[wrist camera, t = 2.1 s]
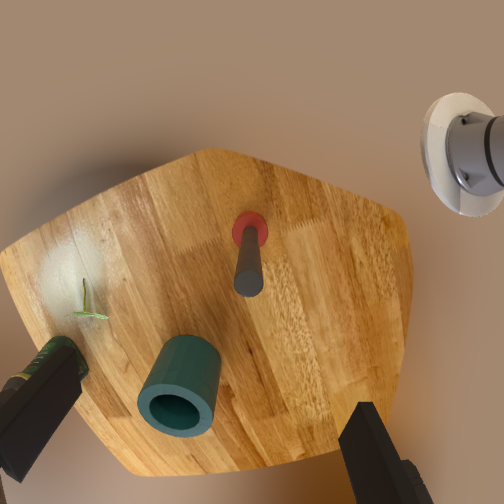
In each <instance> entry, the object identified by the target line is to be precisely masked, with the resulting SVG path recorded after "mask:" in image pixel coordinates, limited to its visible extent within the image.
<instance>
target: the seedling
mask: <svg viewBox="0 0 504 504" xmlns="http://www.w3.org/2000/svg"><path fill="white" fill-rule="evenodd" d="M83 285H84V291H85V294H84V312H73V313H75V314H74V315H77V316H94V317H97V318H104V319H108V317H106V316H103V315H100V314H96V313H90V312H85V296H86V290H85V284H84V278H83ZM71 315H73V314H71ZM66 316H68V315H66Z"/></svg>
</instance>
